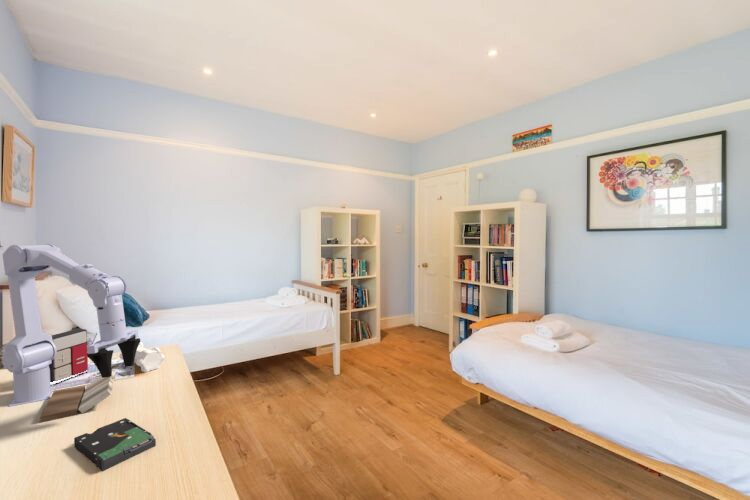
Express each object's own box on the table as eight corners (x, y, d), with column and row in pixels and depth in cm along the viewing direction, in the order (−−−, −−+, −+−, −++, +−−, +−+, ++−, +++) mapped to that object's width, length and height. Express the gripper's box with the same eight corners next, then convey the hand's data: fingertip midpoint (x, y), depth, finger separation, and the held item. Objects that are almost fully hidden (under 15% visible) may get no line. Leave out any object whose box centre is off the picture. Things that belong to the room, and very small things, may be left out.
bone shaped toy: (165, 369, 122) (167, 346, 123) (138, 375, 115) (140, 351, 115) (143, 361, 130) (145, 339, 130) (116, 366, 123) (119, 343, 123)
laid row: (54, 397, 100) (54, 391, 100) (85, 391, 104) (85, 385, 104) (40, 424, 86) (40, 416, 86) (76, 416, 90) (76, 409, 90)
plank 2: (86, 401, 97) (82, 397, 97) (113, 383, 100) (109, 380, 100) (82, 413, 90) (78, 409, 90) (111, 394, 94) (107, 390, 93)
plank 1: (90, 389, 104) (86, 385, 104) (114, 373, 107) (111, 370, 107) (86, 400, 98) (82, 396, 97) (113, 383, 101) (109, 379, 100)
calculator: (54, 387, 107) (52, 338, 106) (43, 385, 107) (41, 337, 107) (90, 373, 117) (88, 329, 117) (79, 371, 118) (78, 328, 117)
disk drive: (73, 450, 77) (102, 474, 69) (72, 438, 77) (102, 460, 69) (125, 428, 86) (157, 447, 78) (125, 417, 86) (157, 434, 78)
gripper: (102, 327, 86) (110, 381, 87) (145, 314, 101) (151, 360, 101) (76, 329, 87) (83, 383, 87) (122, 316, 101) (128, 362, 102)
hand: (118, 371), depth 94 cm, fingers open, 7 cm apart
